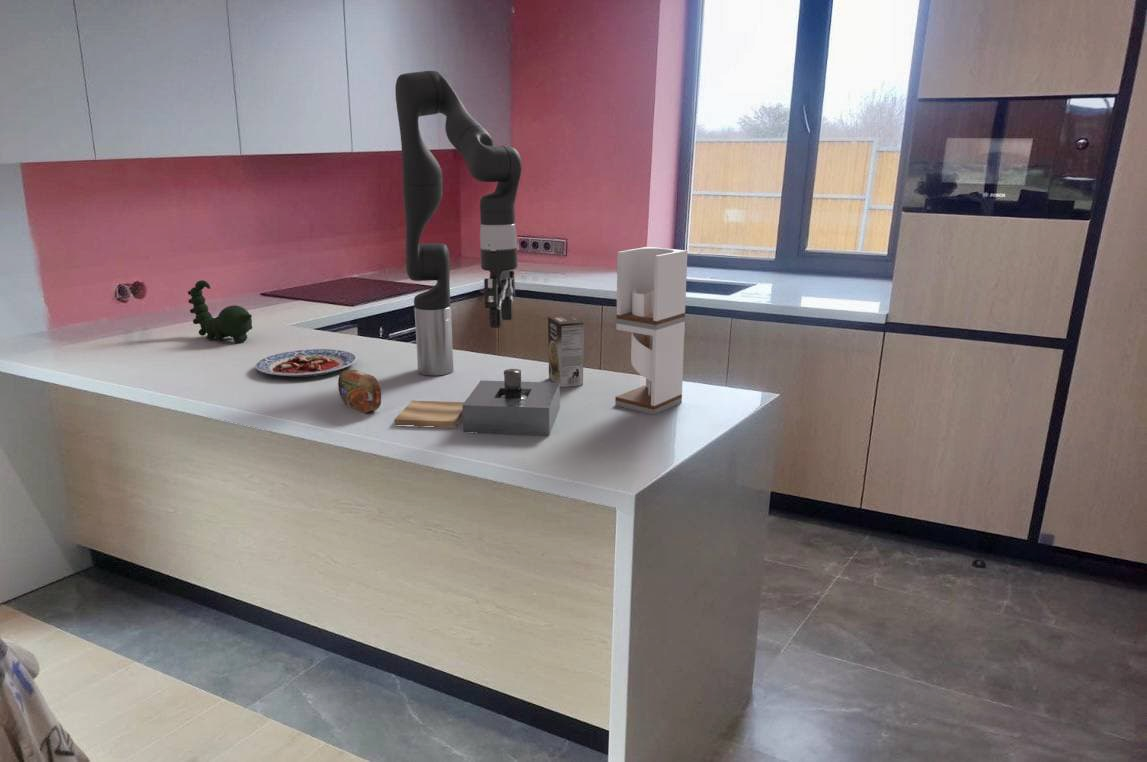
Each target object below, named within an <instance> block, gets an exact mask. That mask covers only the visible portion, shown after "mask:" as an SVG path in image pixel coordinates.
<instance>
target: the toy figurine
mask: <svg viewBox="0 0 1147 762" xmlns="http://www.w3.org/2000/svg"><path fill="white" fill-rule="evenodd" d="M205 288H206V289H211V285H210V284H209V283H208V282H207V281H206V280H202V279H201V280H198V281H196V283H195V284H194V287H191V289H190V290H189V291H187V295H188V296H190V297H191V298H189V299H188V303H189V304H191V305H192V306H193V307H192V308H190V309H189V312H190V314H195V318H194V319H192V323H193V324H194V325H198V324H199V326H200V329H199V330H198V335H200V336H205V335H206V339H207V340H208V341H212V339H213V340H214V338H215V340H216V341H219V342H220V341H223V340H224V339H225V338H228V337H230V338H232V340H233V341H234V342H235V343H236V344H241V342H242V343H244V342H246V341H247V339H248V335H247V334H248V332H249V331H250V330H252V329H253V324H252V323H253V320H252V317H253V316H252V314H250V313H249V311H248V310H247V309H245V308H244V307H242V306H239V305H229V306H225V308H223V309H222V310H221V311H219V314H218V315H217V316H216V317H214V316H212V313H211V312H210V311H209V306H208V305H207V304H206V297H205V296H204V295H203V289H205Z"/></svg>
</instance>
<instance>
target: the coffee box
mask: <svg viewBox="0 0 1147 762" xmlns="http://www.w3.org/2000/svg"><path fill="white" fill-rule="evenodd" d="M584 325H585V324H584V321H581V320H579V318H576V317H575V316H573V315H572V314H569V315H550V316H547V327H548V328H547V336H548V337H547V338H548V339H547V340H548V345H547V346H548V378H549V379H550V380H551V381H552V382H554V383H560V388H566V387H567V388H569V387H577V386H583V385H584V339H585V338H584V336H585V335H584V329H585V328H584Z"/></svg>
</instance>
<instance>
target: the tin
mask: <svg viewBox="0 0 1147 762" xmlns="http://www.w3.org/2000/svg"><path fill="white" fill-rule="evenodd" d="M337 382H338V383H337V387H338V393H339V396H340V398H341V401H342V403H343V404H345V405H346V404H347V405H349V406H351V407H350V408H352V407H353V408H352V409H354V408H355V410H357V409H358V410H357V411H359V410H360V411H359V412H361V411H363V412H362V413H364V412H365V413H369V412H374V411H377V410H378V409H379V408H380V406H381V404H382V389H381V385H380V383H379V381H378V379H377V377H375V376H374V375H372V374H369V373H366V372H363V371H362V370H361V371H360V370H357V369H344V370H342V371H340V374H339V376H338V381H337ZM347 405H346V406H347ZM349 406H348V407H349Z"/></svg>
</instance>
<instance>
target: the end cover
mask: <svg viewBox="0 0 1147 762" xmlns="http://www.w3.org/2000/svg"><path fill="white" fill-rule="evenodd" d="M503 376H504V379H503V381H504V386H505V395H502V396H500V397H499V398H514V399H527V396H525V395H522V394H521V382H522V369H519V368H508V369H505V370H504V371H503Z"/></svg>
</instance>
